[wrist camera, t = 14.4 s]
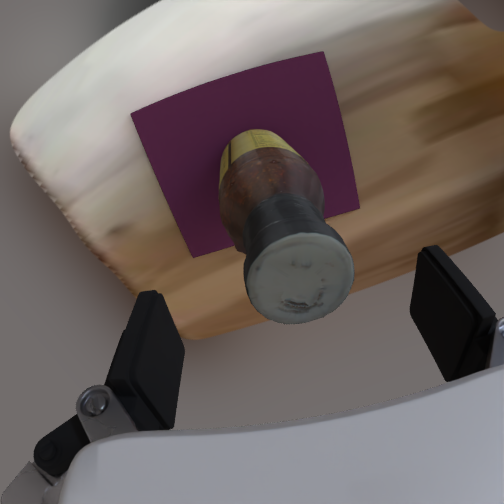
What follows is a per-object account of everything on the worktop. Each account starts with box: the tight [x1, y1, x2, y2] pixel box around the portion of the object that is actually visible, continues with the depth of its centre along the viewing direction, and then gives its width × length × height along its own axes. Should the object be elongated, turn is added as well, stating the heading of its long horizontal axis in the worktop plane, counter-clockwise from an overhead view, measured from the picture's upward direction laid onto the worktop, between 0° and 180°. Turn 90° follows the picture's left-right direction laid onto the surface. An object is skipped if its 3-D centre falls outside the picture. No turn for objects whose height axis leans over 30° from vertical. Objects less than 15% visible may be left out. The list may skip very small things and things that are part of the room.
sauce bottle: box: [219, 129, 354, 324], centre depth 20 cm, size 6×6×20 cm
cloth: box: [131, 52, 360, 258], centre depth 29 cm, size 18×16×1 cm
